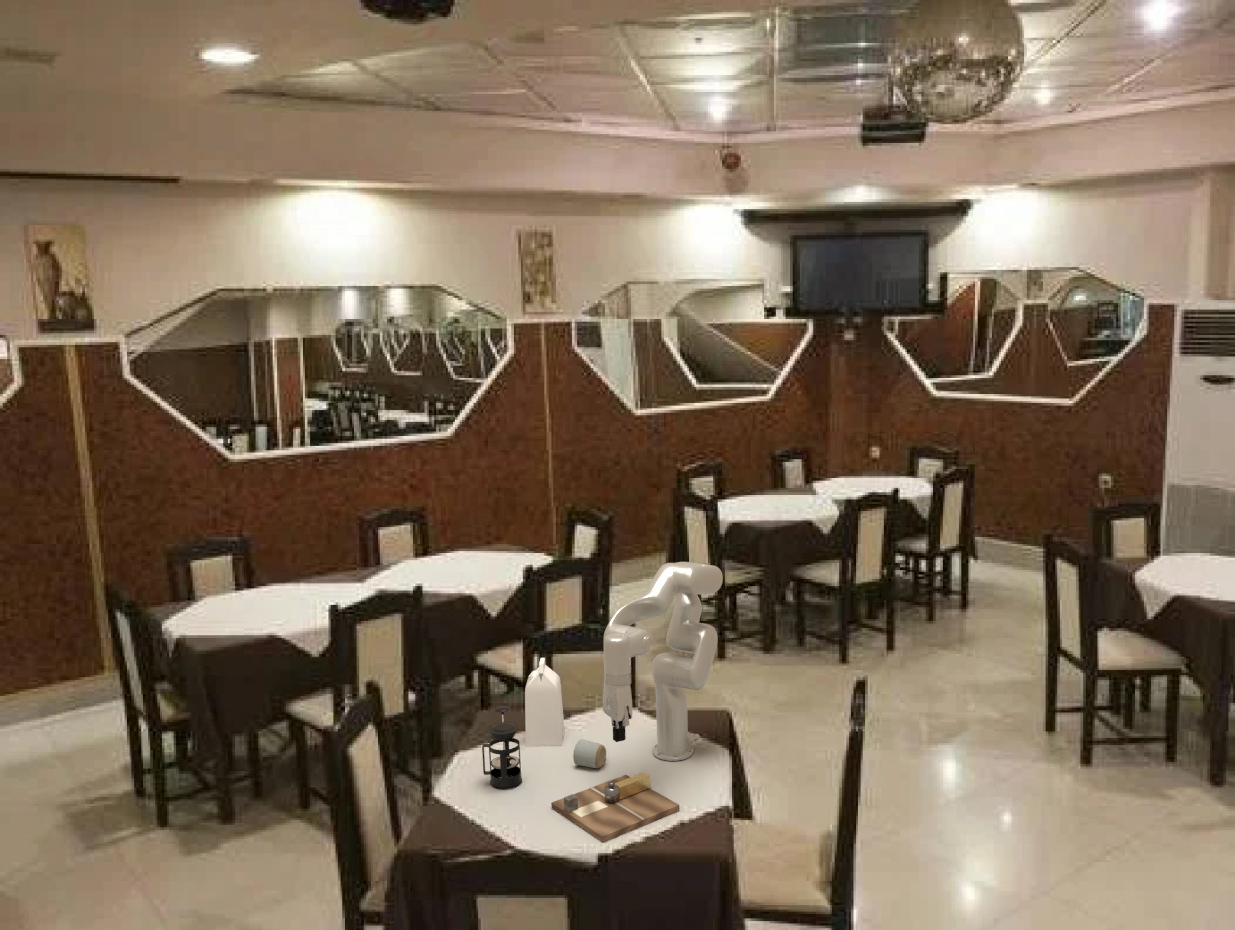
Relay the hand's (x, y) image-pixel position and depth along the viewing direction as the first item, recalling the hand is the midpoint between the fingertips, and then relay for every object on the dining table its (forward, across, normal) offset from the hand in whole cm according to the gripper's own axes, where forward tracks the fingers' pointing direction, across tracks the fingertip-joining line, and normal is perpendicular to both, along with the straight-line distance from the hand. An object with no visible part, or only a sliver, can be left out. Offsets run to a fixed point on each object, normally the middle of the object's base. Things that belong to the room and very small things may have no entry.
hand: (619, 740), depth 288 cm
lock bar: (+14, +6, -1) cm, 15 cm away
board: (+15, +8, -6) cm, 19 cm away
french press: (+16, -22, -27) cm, 38 cm away
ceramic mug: (+15, -20, +1) cm, 26 cm away
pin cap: (+10, +6, -6) cm, 13 cm away
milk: (+15, -45, -4) cm, 47 cm away
